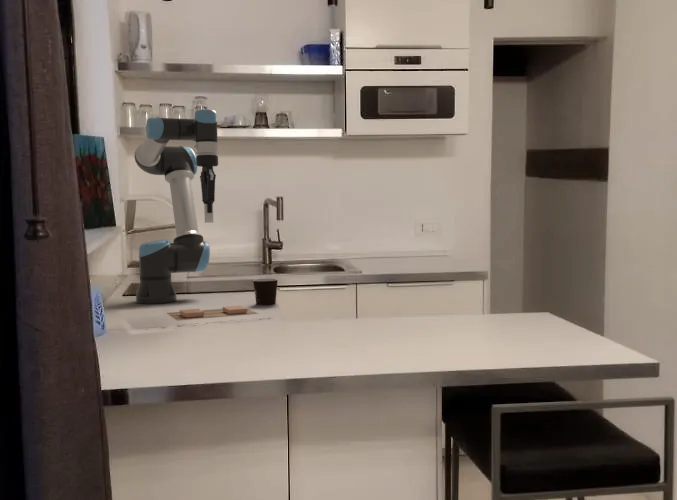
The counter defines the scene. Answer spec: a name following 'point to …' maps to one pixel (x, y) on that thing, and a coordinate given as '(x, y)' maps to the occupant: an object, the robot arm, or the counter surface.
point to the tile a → (192, 313)
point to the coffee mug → (265, 291)
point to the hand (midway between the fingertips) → (209, 222)
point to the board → (210, 314)
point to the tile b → (234, 309)
